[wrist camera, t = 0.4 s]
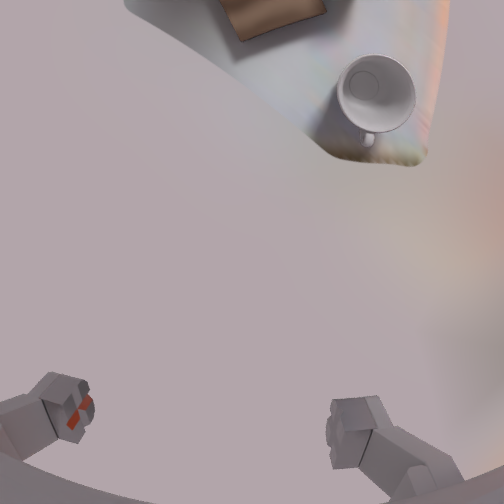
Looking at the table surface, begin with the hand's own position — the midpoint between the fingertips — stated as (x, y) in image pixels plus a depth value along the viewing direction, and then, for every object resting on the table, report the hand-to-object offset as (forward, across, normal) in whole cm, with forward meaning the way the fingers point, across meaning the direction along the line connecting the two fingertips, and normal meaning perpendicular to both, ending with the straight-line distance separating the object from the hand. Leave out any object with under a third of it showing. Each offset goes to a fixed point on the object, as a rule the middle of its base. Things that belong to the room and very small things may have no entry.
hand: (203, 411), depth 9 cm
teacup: (+45, -18, -22) cm, 54 cm away
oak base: (+39, -2, -38) cm, 55 cm away
